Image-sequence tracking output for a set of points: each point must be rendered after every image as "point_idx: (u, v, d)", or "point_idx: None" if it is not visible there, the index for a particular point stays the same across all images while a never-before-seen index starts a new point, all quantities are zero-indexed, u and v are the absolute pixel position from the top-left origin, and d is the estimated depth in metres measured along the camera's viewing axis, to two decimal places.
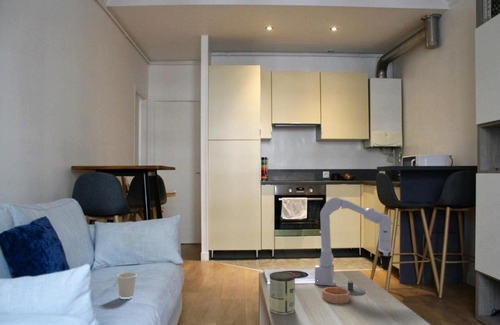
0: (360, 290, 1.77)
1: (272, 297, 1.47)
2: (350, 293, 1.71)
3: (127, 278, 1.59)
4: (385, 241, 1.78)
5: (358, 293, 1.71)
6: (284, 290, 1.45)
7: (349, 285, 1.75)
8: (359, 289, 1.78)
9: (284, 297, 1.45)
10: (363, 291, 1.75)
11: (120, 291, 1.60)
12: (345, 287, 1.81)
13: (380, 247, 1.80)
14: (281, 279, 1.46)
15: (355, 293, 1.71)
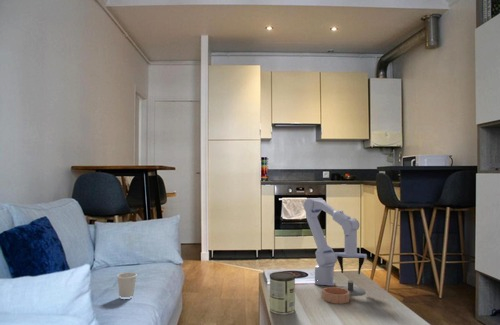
0: (360, 289, 1.77)
1: (272, 297, 1.47)
2: (351, 293, 1.71)
3: (127, 278, 1.59)
4: None
5: (358, 293, 1.71)
6: (284, 290, 1.45)
7: (349, 285, 1.75)
8: (359, 289, 1.78)
9: (284, 297, 1.45)
10: (363, 291, 1.75)
11: (120, 291, 1.60)
12: (345, 287, 1.81)
13: None
14: (281, 279, 1.46)
15: (355, 293, 1.71)
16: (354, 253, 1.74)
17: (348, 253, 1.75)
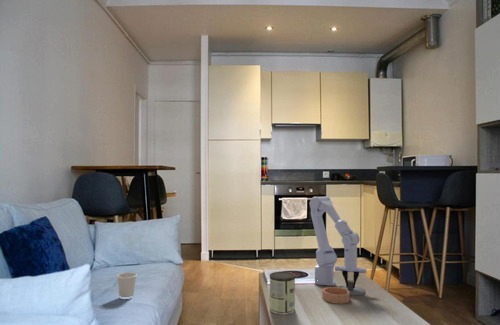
0: (360, 289, 1.77)
1: (272, 297, 1.47)
2: (350, 293, 1.71)
3: (127, 278, 1.59)
4: (344, 258, 1.77)
5: (358, 292, 1.71)
6: (284, 290, 1.45)
7: (349, 284, 1.75)
8: (359, 288, 1.78)
9: (284, 297, 1.45)
10: (363, 290, 1.75)
11: (120, 291, 1.60)
12: (345, 286, 1.81)
13: None
14: (281, 279, 1.46)
15: (355, 292, 1.71)
16: (354, 267, 1.74)
17: (348, 267, 1.74)
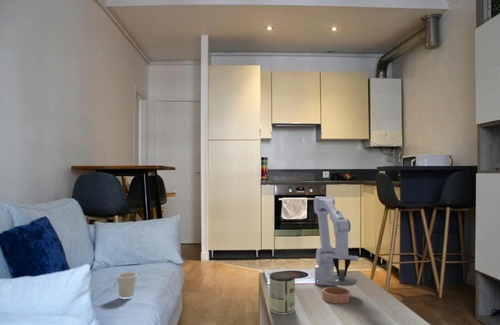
0: (351, 279, 1.70)
1: (272, 297, 1.47)
2: (342, 283, 1.64)
3: (127, 278, 1.59)
4: (335, 246, 1.70)
5: (349, 282, 1.64)
6: (284, 290, 1.45)
7: (340, 274, 1.67)
8: (351, 278, 1.71)
9: (284, 297, 1.45)
10: (355, 280, 1.68)
11: (120, 291, 1.60)
12: (336, 276, 1.74)
13: None
14: (281, 279, 1.46)
15: (346, 282, 1.64)
16: (345, 255, 1.67)
17: (339, 255, 1.67)
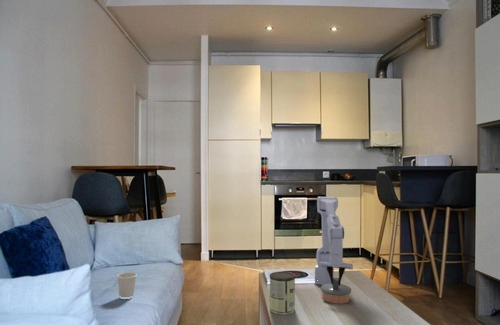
0: (346, 287, 1.65)
1: (272, 297, 1.47)
2: (335, 292, 1.60)
3: (127, 278, 1.59)
4: (329, 253, 1.66)
5: (343, 292, 1.60)
6: (284, 290, 1.45)
7: (334, 283, 1.63)
8: (345, 287, 1.66)
9: (284, 297, 1.45)
10: (349, 289, 1.63)
11: (120, 291, 1.60)
12: (330, 284, 1.69)
13: None
14: (281, 279, 1.46)
15: (340, 292, 1.60)
16: (339, 263, 1.63)
17: (333, 263, 1.63)
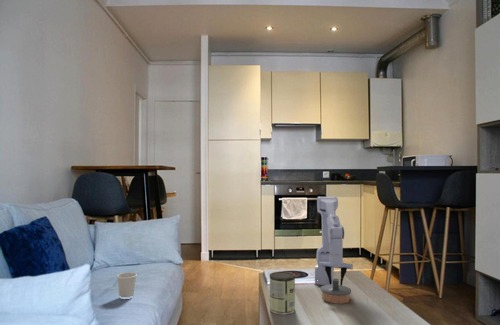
0: (346, 288, 1.65)
1: (272, 297, 1.47)
2: (335, 292, 1.60)
3: (127, 278, 1.59)
4: (329, 253, 1.66)
5: (343, 292, 1.60)
6: (284, 290, 1.45)
7: (334, 283, 1.63)
8: (345, 288, 1.66)
9: (284, 297, 1.45)
10: (349, 290, 1.63)
11: (120, 291, 1.60)
12: (330, 286, 1.69)
13: None
14: (281, 279, 1.46)
15: (340, 292, 1.60)
16: (339, 263, 1.63)
17: (333, 263, 1.63)
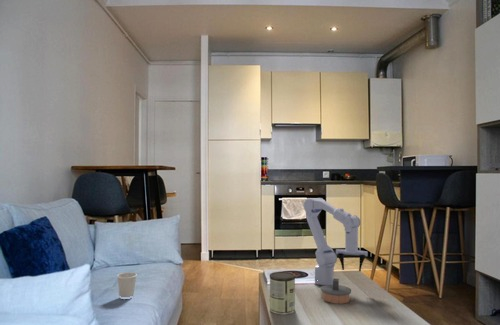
0: (346, 288, 1.65)
1: (272, 297, 1.47)
2: (335, 292, 1.60)
3: (127, 278, 1.59)
4: (345, 241, 1.78)
5: (343, 292, 1.60)
6: (284, 290, 1.45)
7: (334, 283, 1.63)
8: (345, 288, 1.66)
9: (284, 297, 1.45)
10: (349, 290, 1.63)
11: (120, 291, 1.60)
12: (330, 286, 1.69)
13: None
14: (281, 279, 1.46)
15: (340, 292, 1.60)
16: (355, 250, 1.74)
17: (349, 250, 1.74)
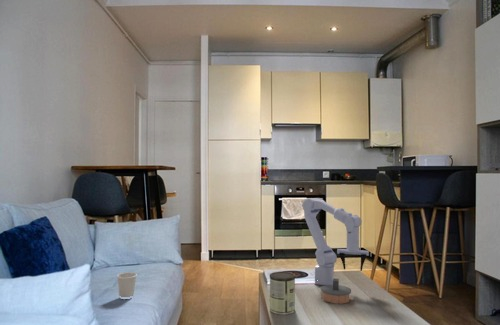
0: (346, 288, 1.65)
1: (272, 297, 1.47)
2: (335, 292, 1.60)
3: (127, 278, 1.59)
4: None
5: (343, 292, 1.60)
6: (284, 290, 1.45)
7: (334, 283, 1.63)
8: (345, 288, 1.66)
9: (284, 297, 1.45)
10: (349, 290, 1.63)
11: (120, 291, 1.60)
12: (330, 286, 1.69)
13: None
14: (281, 279, 1.46)
15: (340, 292, 1.60)
16: (356, 250, 1.75)
17: (350, 250, 1.75)
